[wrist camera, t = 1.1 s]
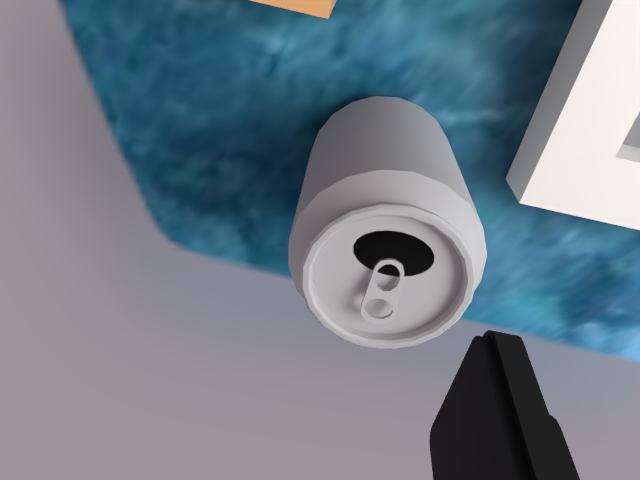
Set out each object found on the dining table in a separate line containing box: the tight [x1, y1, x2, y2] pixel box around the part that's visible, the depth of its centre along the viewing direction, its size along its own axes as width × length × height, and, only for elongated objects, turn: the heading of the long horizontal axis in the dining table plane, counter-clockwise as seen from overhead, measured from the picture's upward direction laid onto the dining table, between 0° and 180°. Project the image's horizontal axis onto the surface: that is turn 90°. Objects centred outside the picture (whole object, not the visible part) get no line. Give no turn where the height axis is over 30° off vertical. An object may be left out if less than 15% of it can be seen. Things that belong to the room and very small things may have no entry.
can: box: [288, 96, 487, 349], centre depth 23 cm, size 8×8×12 cm
